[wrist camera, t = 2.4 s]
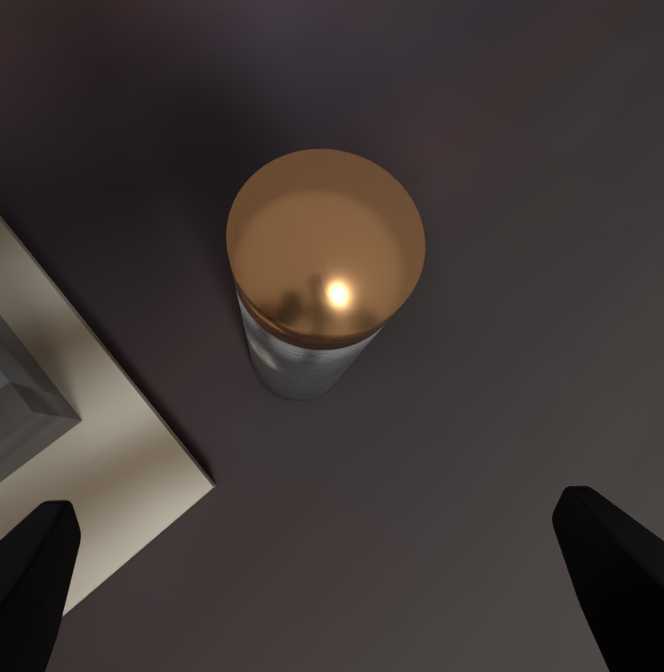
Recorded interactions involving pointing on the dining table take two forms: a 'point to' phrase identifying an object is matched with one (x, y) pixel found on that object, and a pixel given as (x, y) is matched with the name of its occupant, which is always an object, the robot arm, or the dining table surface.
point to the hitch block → (80, 429)
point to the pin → (319, 264)
